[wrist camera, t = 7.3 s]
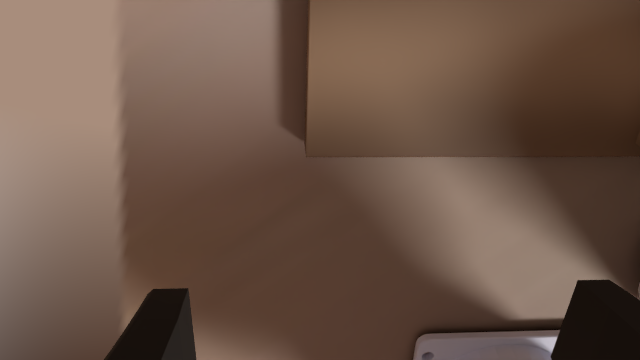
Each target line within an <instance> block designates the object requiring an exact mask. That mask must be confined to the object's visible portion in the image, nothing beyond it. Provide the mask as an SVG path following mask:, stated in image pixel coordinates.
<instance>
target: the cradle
mask: <svg viewBox="0 0 640 360" xmlns="http://www.w3.org/2000/svg"><path fill="white" fill-rule="evenodd" d="M305 151H306V157H586V156H640V0H308V27H307V68H306V109H305Z"/></svg>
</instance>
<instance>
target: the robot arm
mask: <svg viewBox="0 0 640 360" xmlns="http://www.w3.org/2000/svg"><path fill="white" fill-rule="evenodd" d="M427 352H429V353H427ZM424 353H425V354H424ZM104 360H196V352H195V343H194V335H193V326H192V317H191V308H190V299H189V290H188V288H182V289H153V290H152V291H151V292H150V293H148V294H147V296H146V298H145V299H144V301H143V303H142V304H141V306H140V307H139V309H138V311H137V312H136V314H135V315H134V317H133V318H132V320H131V321H130V323H129V324H128V326H127V327H126V329H125V330H124V332H123V333H122V335H121V336H120V338H119V339H118V341H117V342H116V344H115V345H114V346H113V348H112V350H111V351H110V352H109V353H108V355H107V356H106V358H105V359H104ZM413 360H640V300H638V299H637V298H635V297H634V296H633V295H631V294H630V293H628V292H627V291H625V290H624V289H622V288H621V287H619V286H618V285H616V284H615V283H613V282H612V281H610V280H578V281H577V284H576V287H575V290H574V292H573V295H572V298H571V301H570V304H569V306H568V309H567V312H566V315H565V318H564V320H563V323H562V326H561V329H560V330H545V331H508V332H472V333H436V334H424V335H422V336H420V337H419V338H418V339H417V341H416V345H415V351H414V357H413Z"/></svg>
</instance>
